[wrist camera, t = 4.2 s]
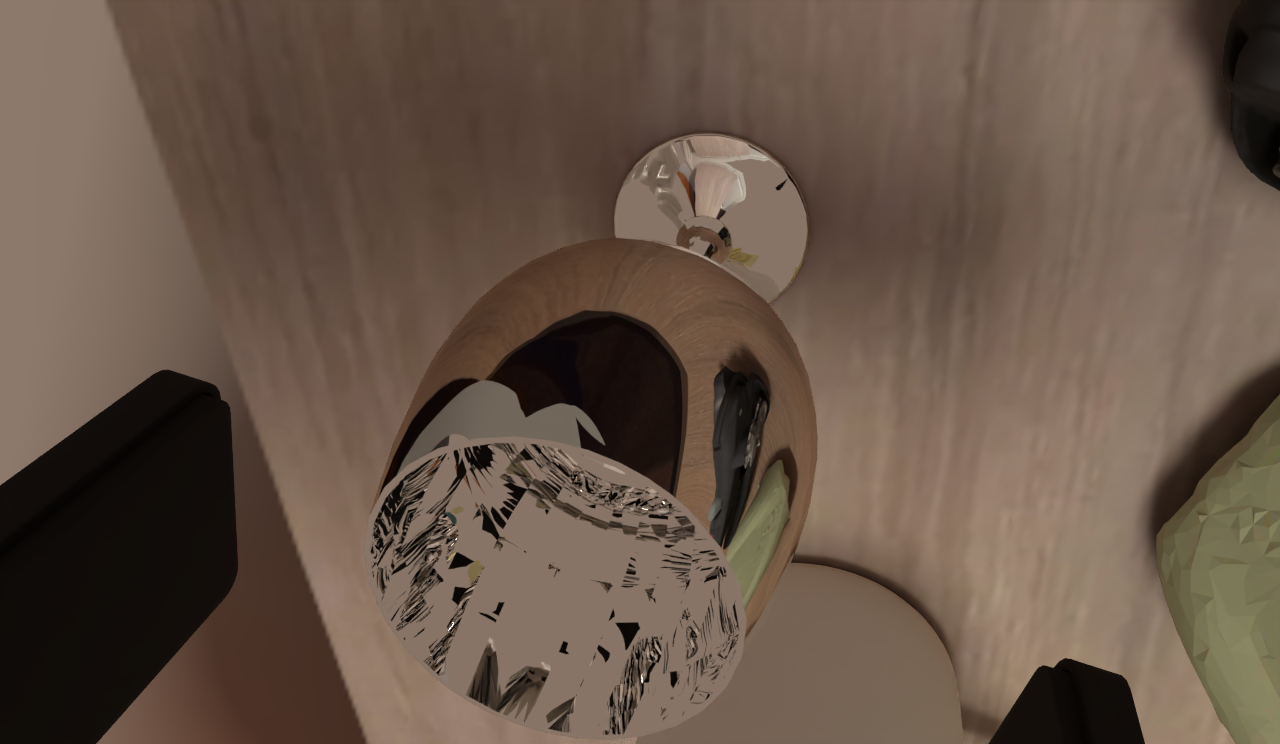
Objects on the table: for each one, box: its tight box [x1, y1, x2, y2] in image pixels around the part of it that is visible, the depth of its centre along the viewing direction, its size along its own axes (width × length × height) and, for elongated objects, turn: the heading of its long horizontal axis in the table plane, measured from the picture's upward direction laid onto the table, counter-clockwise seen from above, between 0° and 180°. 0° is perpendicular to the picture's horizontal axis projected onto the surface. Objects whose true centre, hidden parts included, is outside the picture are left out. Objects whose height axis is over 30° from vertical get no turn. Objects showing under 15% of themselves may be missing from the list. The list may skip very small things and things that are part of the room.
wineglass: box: [364, 132, 818, 740], centre depth 16 cm, size 6×6×12 cm
